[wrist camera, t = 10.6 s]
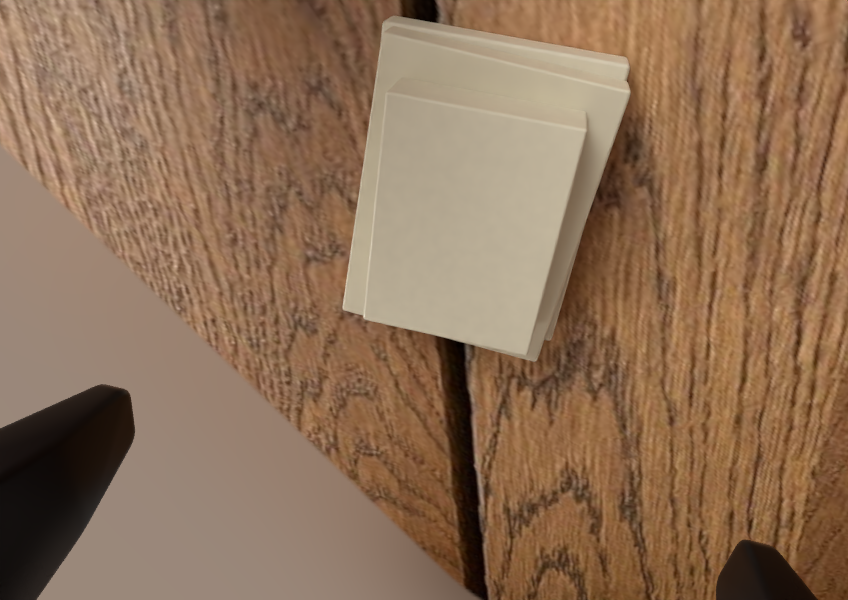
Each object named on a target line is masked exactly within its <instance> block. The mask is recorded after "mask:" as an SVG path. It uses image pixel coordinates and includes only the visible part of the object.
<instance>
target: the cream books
mask: <svg viewBox="0 0 848 600" xmlns="http://www.w3.org/2000/svg"><path fill="white" fill-rule="evenodd" d="M629 71H630V65H629V62H628V59H627V58H626V57H622V56H617V55H611V54H606V53H600V52H594V51H589V50H583V49H578V48H572V47H567V46H561V45H556V44H550V43H544V42H539V41H533V40H528V39H522V38H517V37H511V36H505V35H500V34H494V33H489V32H483V31H478V30H472V29H466V28H461V27H455V26H450V25H444V24H439V23H433V22H428V21H422V20H416V19H411V18H405V17H400V16H391V17H390V18H388V19H386V20H385V21H384V22H383V24H382V34H381V44H380V52H379V59H378V66H377V73H376V80H375V86H374V93H373V100H372V107H371V114H370V121H369V128H368V135H367V142H366V149H365V155H364V162H363V169H362V176H361V183H360V190H359V197H358V204H357V211H356V218H355V225H354V231H353V238H352V245H351V252H350V259H349V266H348V273H347V280H346V287H345V294H344V300H343V310H345V311H348V312H352V313H356V314H359V315H363V314H364V304H365V294H366V284H367V274H368V264H369V254H370V244H371V234H372V224H373V214H374V204H375V194H376V184H377V175H378V165H379V155H380V145H381V135H382V125H383V115H384V105H385V95H386V92H387V91H388V90H389V89H390V88H391V87H392V86H393V85H394V84H395V83H396V82H397V81H398V80H399V79H400V78H402V77H404V78H409V79H414V80H420V81H425V82H430V83H436V84H441V85H447V86H452V87H457V88H463V89H468V90H473V91H479V92H484V93H489V94H495V95H500V96H505V97H511V98H516V99H522V100H527V101H532V102H538V103H543V104H548V105H554V106H559V107H564V108H570V109H575V110H581V111H585V112H586V114H587V136H586V139H585V143H584V147H583V151H582V154H581V158H580V162H579V166H578V169H577V173H576V177H575V181H574V184H573V188H572V192H571V196H570V199H569V203H568V207H567V210H566V214H565V218H564V222H563V225H562V229H561V233H560V237H559V240H558V244H557V248H556V252H555V255H554V259H553V263H552V266H551V270H550V274H549V278H548V281H547V285H546V289H545V293H544V296H543V300H542V304H541V308H540V311H539V315H538V319H537V323H536V326H535V330H534V334H533V337H532V341H531V345H530V349H529V352H528V354H527V355H520V354H516V353H511V352H507V351H503V350H498V349H494V348H489V347H485V346H480V345H476V344H471V343H467V342H463V343H466V344H470V345H474V346H478V347H481V348H485V349H489V350H492V351H496V352H500V353H503V354H507V355H511V356H514V357H518V358H522V359H526V360H529V361H533V362H536V361H537V359H538V357H539V354H540V351H541V348H542V345H543V342H544V340H548V341H549V340H551V339H552V337H553V334H554V330H555V327H556V323H557V320H558V316H559V313H560V309H561V306H562V302H563V299H564V296H565V292H566V289H567V285H568V282H569V278H570V275H571V271H572V268H573V264H574V261H575V258H576V254H577V251H578V247H579V244H580V240H581V237H582V233H583V230H584V226H585V223H586V220H587V217H588V214H589V212H590V209H591V206H592V203H593V200H594V197H595V194H596V192H597V189H598V186H599V183H600V180H601V177H602V175H603V172H604V169H605V166H606V163H607V160H608V157H609V155H610V152H611V149H612V146H613V143H614V140H615V138H616V135H617V132H618V129H619V126H620V123H621V121H622V118H623V115H624V112H625V109H626V106H627V103H628V101H629V98H630V95H631V91H630V88H629V84H628V82H626V81H627V78H628V74H629ZM448 339H449V338H448ZM452 340H453V339H452ZM455 341H458V340H455ZM459 342H462V341H459Z"/></svg>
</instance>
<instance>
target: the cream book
mask: <svg viewBox="0 0 848 600" xmlns="http://www.w3.org/2000/svg"><path fill="white" fill-rule="evenodd" d="M586 136H587V114H586V112H585V111H581V110H575V109H570V108H564V107H559V106H554V105H548V104H543V103H538V102H532V101H527V100H522V99H516V98H511V97H505V96H500V95H495V94H489V93H484V92H479V91H473V90H468V89H463V88H457V87H452V86H447V85H441V84H436V83H430V82H425V81H420V80H414V79H409V78H404V77H402V78H400V79H399V80H398V81H397V82H396V83H395V84H394V85H393V86H392V87H391V88H390V89H389V90H388V91H387V92H386V95H385V105H384V115H383V125H382V135H381V145H380V155H379V165H378V175H377V184H376V194H375V204H374V214H373V224H372V234H371V244H370V254H369V264H368V274H367V284H366V294H365V304H364V314H363V318H364V319H365V320H368V321H373V322H377V323H382V324H386V325H391V326H395V327H400V328H404V329H409V330H413V331H418V332H422V333H426V334H431V335H435V336H440V337H444V338H449V339H453V340H458V341H462V342H467V343H471V344H476V345H480V346H485V347H489V348H494V349H498V350H503V351H507V352H511V353H516V354H520V355H527V354H528V352H529V349H530V345H531V341H532V337H533V334H534V330H535V326H536V323H537V319H538V315H539V311H540V308H541V304H542V300H543V296H544V293H545V289H546V285H547V281H548V278H549V274H550V270H551V266H552V263H553V259H554V255H555V252H556V248H557V244H558V240H559V237H560V233H561V229H562V225H563V222H564V218H565V214H566V210H567V207H568V203H569V199H570V196H571V192H572V188H573V184H574V181H575V177H576V173H577V169H578V166H579V162H580V158H581V154H582V151H583V147H584V143H585V139H586Z"/></svg>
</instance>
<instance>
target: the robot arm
mask: <svg viewBox="0 0 848 600" xmlns="http://www.w3.org/2000/svg"><path fill="white" fill-rule="evenodd" d="M134 434H135V426H134V418H133V411H132V403H131V397H130V394H129V392H128V391H127V390H125V389H122V388H118V387H113V386H110V385H103V384H101V385H97V386H95V387H92V388H90V389H88V390H86V391H84V392H81V393H79V394H77V395H74V396H72V397H70V398H68V399H65V400H63V401H61V402H59V403H56V404H54V405H52V406H50V407H48V408H45V409H43V410H41V411H39V412H36V413H34V414H32V415H29V416H27V417H25V418H23V419H20V420H18V421H16V422H14V423H12V424H9V425H7V426H5V427H3V428H0V600H37V598H38V597H39V595H40V594H41V592H42V591H43V589H44V588H45V587H46V585H47V584H48V582H49V581H50V579H51V578H52V577H53V575H54V574H55V572H56V571H57V569H58V568H59V566H60V565H61V564H62V562H63V561H64V559H65V558H66V556H67V555H68V554H69V552H70V551H71V549H72V548H73V546H74V545H75V543H76V542H77V540H78V539H79V537H80V536H81V534H82V533H83V531H84V529H85V528H86V526H87V524H88V523H89V521H90V519H91V517H92V515H93V514H94V512H95V510H96V508H97V506H98V505H99V503H100V501H101V499H102V497H103V496H104V494H105V492H106V490H107V488H108V486H109V485H110V483H111V481H112V479H113V477H114V475H115V474H116V472H117V470H118V468H119V467H120V465H121V463H122V461H123V459H124V458H125V456H126V454H127V452H128V450H129V448H130V447H131V444H132V442H133V439H134ZM716 600H818V599H817V598H816V597H815V596H814V594H813V593H812V592H811V591H810V590H809V588H808V587H807V586H806V585H805V583H804V582H803V581H802V580H801V579H800V577H799V576H798V575H797V574H796V572H795V571H794V570H793V569H792V568H791V566H790V565H789V564H788V563H787V561H786V560H785V559H784V558H783V556H782V555H781V554H780V553H779V552H778V551H777V550H776V549H775V548H774V547H772V546H770V545H767V544H763V543H758V542H754V541H750V540H742V541H740V542H739V543H738V544H737V546H736V547H735V549H734V551H733V552H732V554H731V556H730V557H729V559H728V561H727V562H726V564H725V566H724V568H723V569H722V571H721V573H720V575H719V577H718V580H717V586H716Z"/></svg>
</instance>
